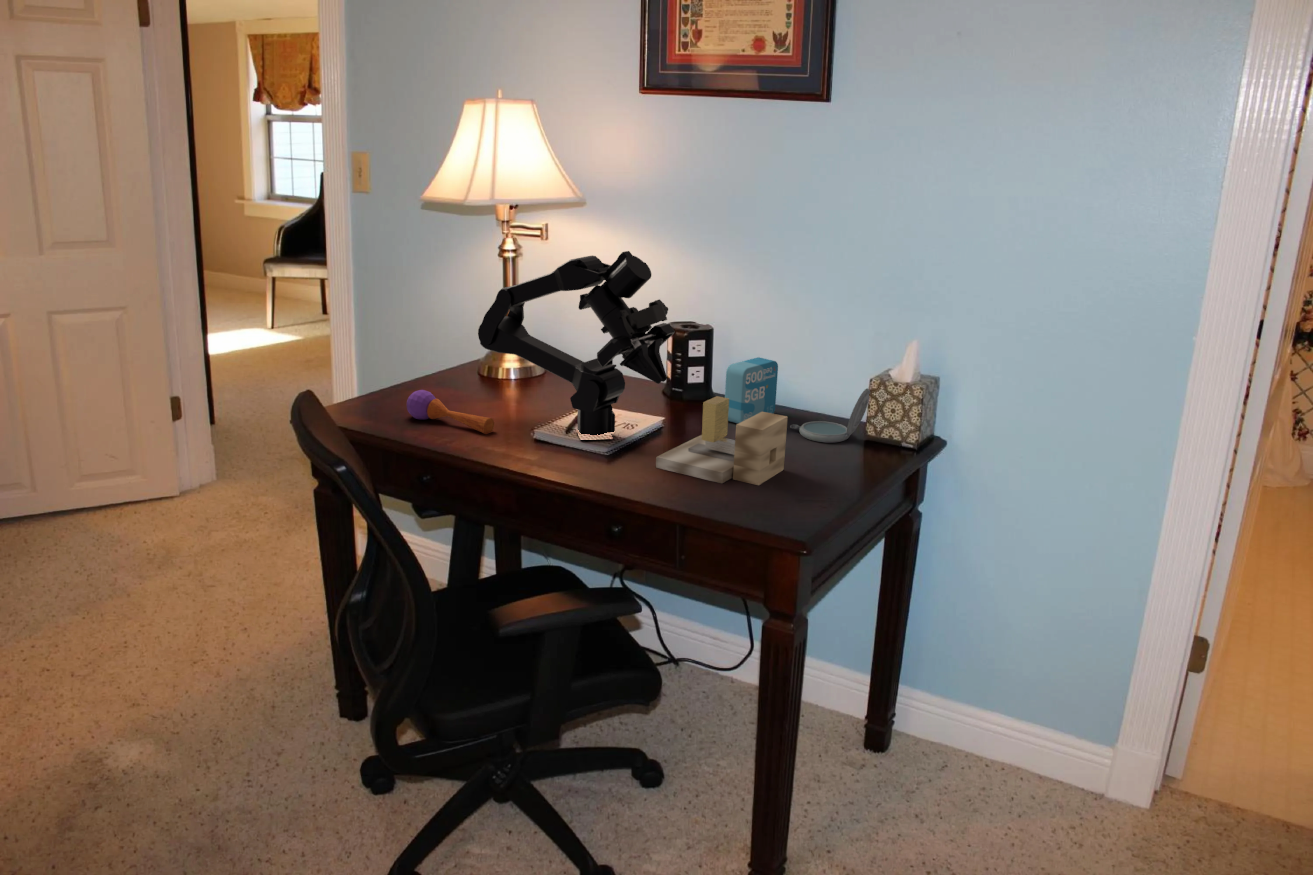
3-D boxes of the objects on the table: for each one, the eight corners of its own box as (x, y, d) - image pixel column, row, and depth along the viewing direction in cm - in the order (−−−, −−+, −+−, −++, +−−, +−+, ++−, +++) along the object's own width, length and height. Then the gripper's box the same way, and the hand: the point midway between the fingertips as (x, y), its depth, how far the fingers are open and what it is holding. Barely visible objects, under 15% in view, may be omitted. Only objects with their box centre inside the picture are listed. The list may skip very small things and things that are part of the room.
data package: (740, 426, 216) (743, 369, 212) (722, 421, 219) (726, 365, 215) (775, 415, 225) (779, 359, 221) (757, 410, 228) (761, 356, 224)
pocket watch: (859, 395, 201) (785, 383, 208) (854, 450, 205) (781, 436, 211) (875, 383, 210) (802, 372, 216) (869, 436, 213) (798, 424, 219)
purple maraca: (477, 419, 202) (398, 393, 211) (480, 446, 205) (402, 420, 214) (497, 406, 207) (419, 382, 216) (499, 433, 210) (422, 408, 219)
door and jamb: (655, 467, 191) (657, 414, 188) (700, 445, 204) (702, 394, 201) (750, 490, 182) (754, 434, 178) (790, 465, 195) (794, 412, 191)
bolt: (701, 450, 191) (703, 402, 189) (714, 443, 196) (717, 396, 193) (735, 458, 188) (738, 409, 185) (748, 450, 192) (751, 402, 189)
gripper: (612, 294, 185) (663, 365, 183) (667, 280, 200) (716, 346, 198) (574, 332, 191) (624, 401, 189) (631, 316, 207) (678, 380, 205)
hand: (662, 381), depth 195 cm, fingers closed
